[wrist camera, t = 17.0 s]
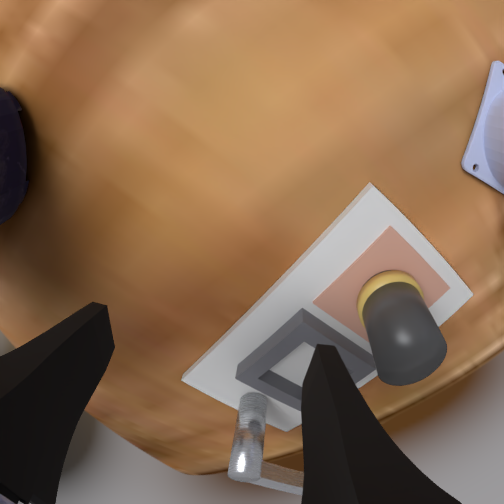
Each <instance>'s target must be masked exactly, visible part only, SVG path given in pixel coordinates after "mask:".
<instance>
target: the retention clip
mask: <svg viewBox="0 0 504 504" xmlns="http://www.w3.org/2000/svg"><path fill="white" fill-rule="evenodd" d="M266 414H267V399H266V398H265V397H264V396H262V395H259V394H255V393H249V394H245V395H243V396H242V397H241V398H240V402H239V408H238V414H237V420H236V427H235V433H234V439H233V445H232V451H231V457H230V463H229V469H228V477H230V478H231V479H233V480H236V481H240V482H249V483H253V484H257V485H260V486H264V487H268V488H273V489H276V490H280V491H285V492H289V493H295V494H299V495H302V492H303V480H304V472H300V471H296V470H292V469H289V468H285V467H281V466H278V465H275V464H271V463H268V462H265V461H262V458H263V447H264V436H265V425H266Z"/></svg>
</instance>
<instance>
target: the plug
mask: <svg viewBox="0 0 504 504" xmlns="http://www.w3.org/2000/svg"><path fill="white" fill-rule="evenodd" d="M356 307H357V311H358V315H359V319H360V322H361V324H362V325H363V327H364V328H365V329H366V332H367V335H368V339H369V343H370V347H371V350H372V354H373V358H374V362H375V366H376V370H377V374H378V376H379V378H380V379H381V380H382V381H383V382H385V383H387V384H390V385H396V386H402V385H408V384H412V383H415V382H418V381H420V380H422V379H424V378H426V377H427V376H429V375H430V374H432V373H433V372H434V371H435V370H436V369H437V368H438V367H439V366H440V365H441V363H442V362H443V360H444V358H445V356H446V352H447V344H446V341H445V339H444V337H443V335H442V333H441V332H440V330H439V328H438V326H437V324H436V322H435V320H434V318H433V316H432V314H431V313H430V311H429V309H428V307H427V305H426V303H425V302H424V295H423V292H422V290H421V288H420V286H419V285H418V283H417V281H416V280H415V279H414V277H413V276H411V275H410V274H408V273H406V272H404V271H399V270H386V271H382V272H380V273H377V274H375V275H374V276H372V277H371V278H370V279H368V280H367V281H366V283H365V284H364V285H363V287H362V288H361V290H360V292H359V294H358V297H357V302H356Z"/></svg>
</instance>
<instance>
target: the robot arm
mask: <svg viewBox="0 0 504 504" xmlns="http://www.w3.org/2000/svg"><path fill="white" fill-rule="evenodd" d="M502 70H504V64H503V63H502V62H500V61H493V62H492V64H491V68H490V72H489V76H488V80H487V84H486V88H485V92H484V95H483V99H482V102H481V106H480V109H479V112H478V115H477V119H476V122H475V125H474V128H473V131H472V134H471V137H470V139H469V142H468V145H467V148H466V151H465V153H464V156H463V159H462V162H461V164H462V168H463V169H464V170H465V171H467V172H468V173H470V174H472V175H474V176H475V177H477V178H479V179H480V180H482V181H483V182H485V183H487V184H488V185H490V186H492V187H493V188H495V189H496V190H498V191H499V192H501V193H502V194H504V75H503V73H502ZM474 164H475V165H476V168H475V170H473V165H474ZM114 348H115V345H114V340H113V335H112V330H111V325H110V320H109V314H108V308H107V305H103V304H99V303H95V302H92V303H90V304H88V305H87V306H85V307H83V308H82V309H80V310H79V311H77V312H75V313H74V314H72V315H71V316H69V317H68V318H66V319H65V320H63V321H62V322H60V323H58V324H57V325H55V326H54V327H52V328H51V329H49V330H48V331H46V332H44V333H43V334H41V335H39V336H38V337H36V338H34V339H33V340H31V341H29V342H28V343H26V344H24V345H22V346H21V347H19V348H17V349H15V350H13V351H11V352H9V353H7V354H5V355H2V356H0V504H18V501H20V502H22V503H24V504H29V502H30V503H31V504H55V503H56V496H57V491H58V485H59V480H60V476H61V472H62V468H63V464H64V460H65V457H66V454H67V451H68V447H69V444H70V441H71V439H72V436H73V433H74V431H75V428H76V425H77V423H78V421H79V419H80V416H81V415H82V413H83V411H84V409H85V407H86V405H87V404H88V402H89V400H90V398H91V396H92V394H93V393H94V391H95V389H96V387H97V385H98V384H99V382H100V380H101V378H102V376H103V374H104V373H105V371H106V368H107V366H108V364H109V361H110V359H111V356H112V353H113V351H114ZM301 419H302V436H303V454H304V480H303V492H302V503H301V504H462V503H460V502H459V501H458V500H456V499H455V498H454V497H452V496H451V495H449V494H448V493H446V492H445V491H444V490H443V489H441V488H440V487H439V486H437V485H436V484H435V483H433V481H431V480H430V479H429V478H428V477H427V476H426V475H425V474H423V473H422V472H421V471H420V470H419V469H418V468H417V467H416V466H415V465H414V464H413V463H412V462H411V461H410V459H408V457H407V456H406V455H405V454H403V452H402V451H401V450H400V449H399V448H398V446H397V445H396V444H395V443H394V442H393V440H392V439H391V438H390V437H389V435H388V434H387V433H386V431H385V430H384V429H383V427H382V426H381V424H380V423H379V422H378V420H377V419H376V417H375V416H374V414H373V413H372V411H371V410H370V408H369V406H368V405H367V403H366V402H365V400H364V398H363V397H362V395H361V393H360V391H359V390H358V388H357V386H356V384H355V383H354V381H353V379H352V377H351V375H350V373H349V372H348V370H347V368H346V366H345V364H344V362H343V360H342V358H341V356H340V354H339V352H338V350H337V348H336V347H335V346H333V345H324V344H317V345H316V348H315V350H314V353H313V356H312V359H311V362H310V364H309V367H308V370H307V372H306V375H305V378H304V380H303V384H302V400H301Z"/></svg>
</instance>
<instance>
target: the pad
mask: <svg viewBox="0 0 504 504" xmlns="http://www.w3.org/2000/svg"><path fill="white" fill-rule="evenodd" d="M386 270H399V271H404V272H406V273H408V274H410V275H411V276H413V277H414V279H415V280H416V281H417V283H418V285H419V286H420V288H421V290H422V292H423V295H424V302H425V303H426V305H427V307H428V308H430V307H431V306H432V305H433V304H434V303H435V302H436V301H437V300H438V299H439V298H440V297H441V296H443V295H444V294H445V293H446V292H447V291H448V290H449V289H450V287H449V286H448V285H447V283H446V282H445V281H444V280H443V279H442V278H441V277H440V276H439V275H438V274H437V272H436V271H435V270H434V269H433V268H432V267H431V266H430V265H429V264H428V263H427V262H426V261H425V260H424V259H423V258H422V257H421V256H420V254H419V253H418V252H417V251H416V250H415V249H414V248H413V247H412V246H411V245H410V244H409V243H408V242H407V241H406V240H405V239H404V238H403V237H402V236H401V235H400V234H399V233H398V232H397V231H396V230H395V229H394V228H393V227H392V226H389V227H388V228H387V229H386V230H385V231H384V232H383V233H382V234H381V235H380V236H379V237H378V238H377V239H376V240H375V241H374V242H373V243H372V244H371V245H370V246H369V247H368V248H367V249H366V250H365V251H364V252H363V253H362V254H361V255H360V256H359V257H358V258H357V259H356V260H355V261H354V262H353V263H352V264H351V265H350V266H349V267H348V268H347V269H346V270H345V271H344V272H343V273H342V274H341V275H340V276H339V277H338V278H337V279H336V280H335V281H334V282H333V283H332V284H331V285H330V286H328V287H327V288H326V289H325V290H324V291H323V292H322V293H321V294H320V295H319V296H318V297H317V298H316V299H315V300H314V301H313V304H314V305H316V306H317V307H319V308H320V309H322V310H323V311H324V312H326V313H327V314H329V315H330V316H332V317H333V318H334V319H336V320H337V321H339V322H340V323H342V324H343V325H345V326H346V327H347V328H349V329H350V330H352V331H353V332H355V333H356V334H357V335H359V336H360V337H362V338H363V339H365V340H366V341H367V342H369V339H368V335H367V332H366V329H365V328H364V327H363V325H362V324H361V322H360V319H359V315H358V311H357V307H356V302H357V297H358V294H359V292H360V290H361V288H362V287H363V285H364V284H365V283H366V281H367V280H368V279H370V278H371V277H372V276H374V275H375V274H377V273H380V272H382V271H386Z"/></svg>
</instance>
